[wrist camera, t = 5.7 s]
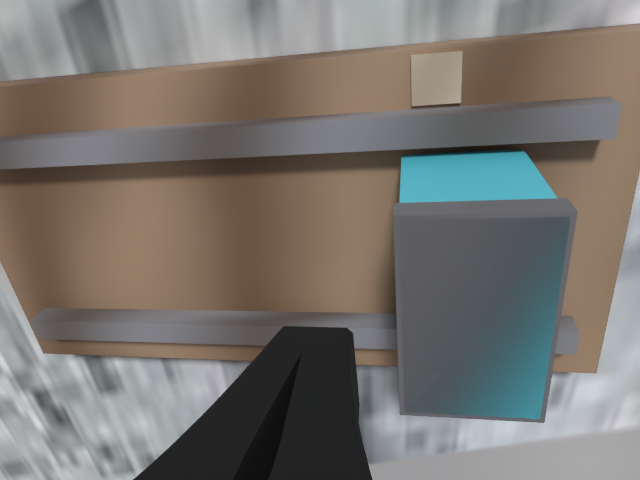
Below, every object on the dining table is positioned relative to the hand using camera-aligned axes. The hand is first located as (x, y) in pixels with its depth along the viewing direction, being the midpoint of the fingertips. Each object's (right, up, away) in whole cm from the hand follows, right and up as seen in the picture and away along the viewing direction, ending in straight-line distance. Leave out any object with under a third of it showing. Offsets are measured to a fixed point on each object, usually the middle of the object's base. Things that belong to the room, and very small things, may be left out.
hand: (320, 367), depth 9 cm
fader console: (-1, +3, +7) cm, 8 cm away
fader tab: (+4, +3, +4) cm, 6 cm away
